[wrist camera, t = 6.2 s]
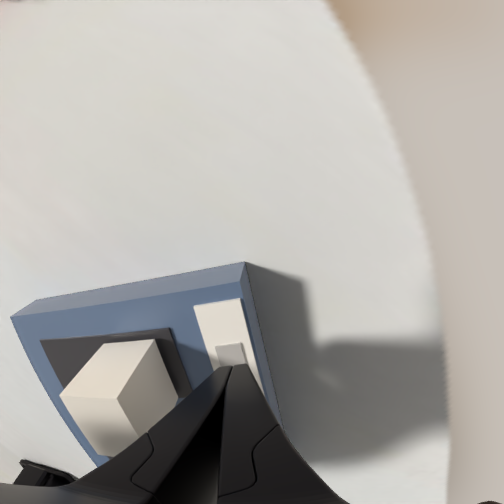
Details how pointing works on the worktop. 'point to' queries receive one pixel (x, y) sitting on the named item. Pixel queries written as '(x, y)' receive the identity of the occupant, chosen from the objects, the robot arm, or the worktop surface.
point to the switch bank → (149, 332)
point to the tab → (120, 395)
